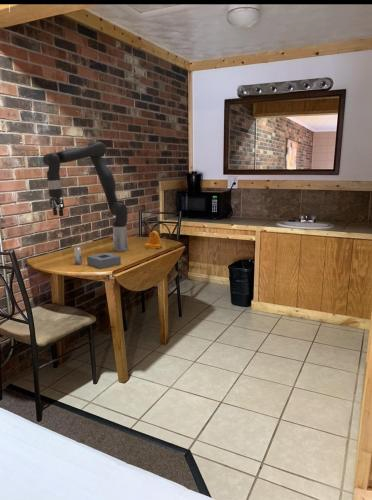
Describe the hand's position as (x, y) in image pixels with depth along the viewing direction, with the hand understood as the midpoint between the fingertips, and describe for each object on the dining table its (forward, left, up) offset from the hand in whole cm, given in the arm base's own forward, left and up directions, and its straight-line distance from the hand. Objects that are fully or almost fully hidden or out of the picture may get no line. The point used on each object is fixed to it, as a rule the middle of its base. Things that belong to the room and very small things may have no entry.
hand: (58, 215), depth 218 cm
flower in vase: (-70, -35, -29) cm, 83 cm away
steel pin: (-5, +12, -29) cm, 31 cm away
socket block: (-15, +24, -29) cm, 40 cm away
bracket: (-67, +10, -29) cm, 73 cm away
